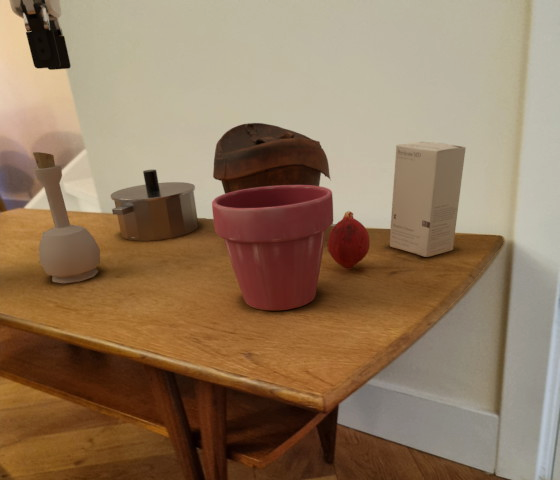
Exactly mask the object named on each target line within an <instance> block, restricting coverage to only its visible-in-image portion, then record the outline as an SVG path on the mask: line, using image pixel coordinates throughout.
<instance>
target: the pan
mask: <svg viewBox="0 0 560 480" xmlns="http://www.w3.org/2000/svg"><path fill="white" fill-rule="evenodd" d="M194 191H195V190H194ZM194 191H193V192H191V193H188V194H186V195H182V196H179V197H174V198H169V199H163V200H156V201H146V202H119V201H114V200H113V201H114V202H113V203H114V206H115V207H113V208H111V212H112V215H117V220H118V221H117V222H118V226H119V230H120V234H121V237H123V239H125V240H130V241H137V242H139V241H140V242H147V241H162V240H167V239H172V238H173V239H174V238H177V237H181V236H185V235H187V234H190V233H192V232H194V231H196V230H197V229H198V227H199V220H198V214H197V205H196V198H195V192H194Z"/></svg>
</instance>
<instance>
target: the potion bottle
mask: <svg viewBox="0 0 560 480" xmlns="http://www.w3.org/2000/svg"><path fill="white" fill-rule="evenodd" d="M32 155H33V157H34V160H35V163H36V166H37V167H34V168H33V169H32V171H33V172H34V175H35V177H36V179H37V181H38V182H39V183H40V184H42V186H43V188H44V192H45V195H46V200H47V203H48V206H49V210H50V214H51V218H52V222H53V225H54V227H51V228H50V229H47V230H45V231H43V232H42V235H41V239H40V241H39V246H38V260H39V264H40V265H41V267H42V269H43V271H44V272H45V274H46V275H48V276H52V278H51V281H52V283H56V284H57V283H58V284H71V283H79V282H83V281H85V280H89V279H92V278H94V277H95V276H96V275H97V274H98V273H99V270H98V269H96V268H97V267H98V266H99V265H100V264H101V249H100V247H99V245H98V243H97V241H96V239H95V237H94V236H93V234H91V232H89V230H88V229H87V228H86V227H84V226H83V225H76V224H71V223H70V218H69V214H68V211H67V208H66V204H65V199H64V196H63V192H62V188H61V187H62V186H61V184H60V183H61V181H62V177H63V171H62V165H59V164H56V162H55V156H54V154H53V153H49V152H48V153H47V152H38V151H37V152H36V151H35V152H32Z"/></svg>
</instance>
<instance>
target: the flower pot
mask: <svg viewBox="0 0 560 480" xmlns="http://www.w3.org/2000/svg"><path fill="white" fill-rule="evenodd" d="M333 201H334V198H333V191H332V190H331V189H330V188H328V187H324V186H320V185H319V186H313V185H279V186H265V187H256V188H249V189H243V190H238V191H233V192H229V193H226V194H225V193H223V194H221V195H219V196H217V197H214V199H213V200H212V202H211V206H212V207H211V208H212V218H213V225H214V233H215V234H216V235H217V236H218V237H220V239H221V238H222V239H223V241H224V244H225V248H226V252H227V254H228V257H229V260H230V263H231V266H232V269H233V273H234V275H235V278H236V281H237V283H238V286H239V288H240V291H241V294H242V297H243V300H244V302H245V304H247V305H248V306H249V307H251V308H253V309H257V310H261V311H262V310H263V311H287V310H291V309H297V308H300V307H303V306H306V305H308V304H310V303H311V302H313V301H314V299H315V297H316V295H317V289H318V284H319V277H320V272H321V267H322V260H323V259H322V258H323V254H324V248H325V242H326V241H325V240H326V234H327V233H326V232H327V230H328V229H329V228H331V227H332V225H333V224H334V202H333Z"/></svg>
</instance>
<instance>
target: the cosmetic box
mask: <svg viewBox="0 0 560 480" xmlns="http://www.w3.org/2000/svg"><path fill="white" fill-rule="evenodd" d="M395 147H396V148H395V162H394V174H393V175H394V176H393V188H392V203H391V204H392V205H391V217H390V230H389V231H390V232H389V247H391V248H393V249H397V250H400V251H405V252H408V253H412V254H415V255H417V256H421V257H425V258H430V257H433V256H436V255H439V254H445V253H447V252H450V251H453V250H454V246H455V245H454V243H455V236H456V228H457V220H458V212H459V205H460V204H459V203H460V196H461V188H462V187H461V186H462V179H463V170H464V164H465V157H466V156H465V155H466V146H463V145H462V146H461V145H456V144H448V143H445V142H444V143H443V142H435V141H417V142H416V141H415V142H410V143H400V144H396V146H395Z"/></svg>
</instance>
